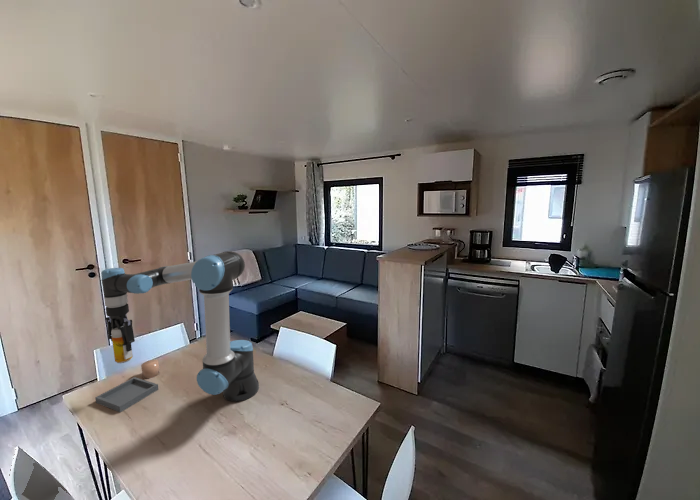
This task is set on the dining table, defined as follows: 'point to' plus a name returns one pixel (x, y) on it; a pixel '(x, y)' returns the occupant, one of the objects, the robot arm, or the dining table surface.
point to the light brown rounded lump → (150, 369)
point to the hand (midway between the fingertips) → (123, 356)
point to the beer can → (118, 346)
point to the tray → (126, 394)
